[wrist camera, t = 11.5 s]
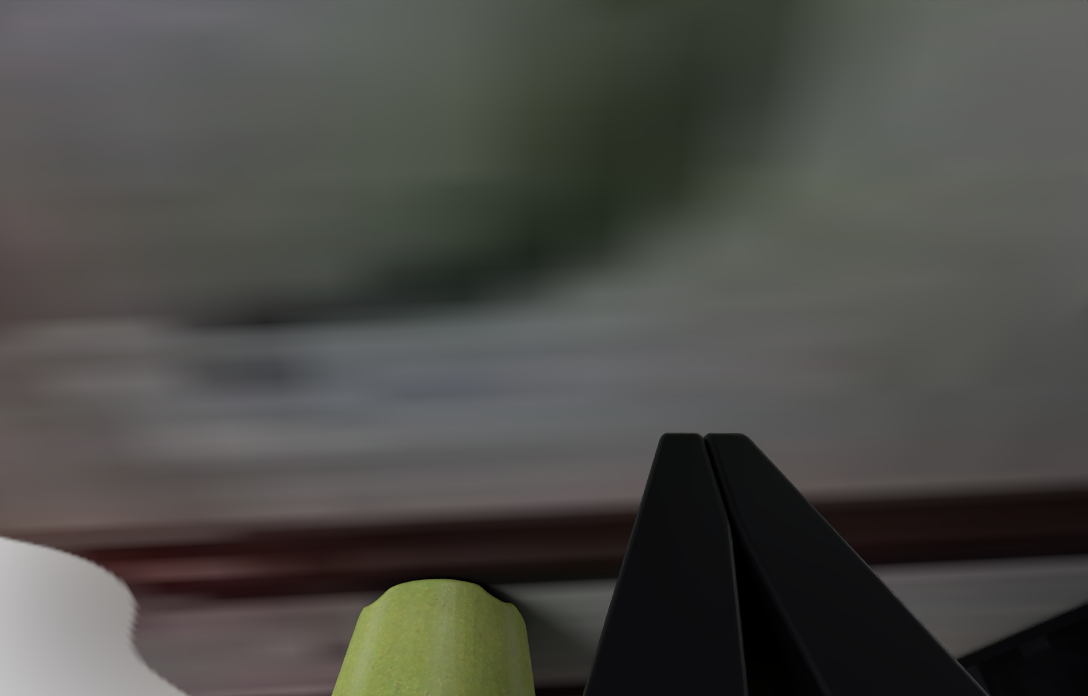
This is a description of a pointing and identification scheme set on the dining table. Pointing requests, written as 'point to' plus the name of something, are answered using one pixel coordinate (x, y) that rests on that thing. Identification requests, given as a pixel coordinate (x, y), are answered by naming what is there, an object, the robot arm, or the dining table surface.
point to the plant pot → (437, 644)
